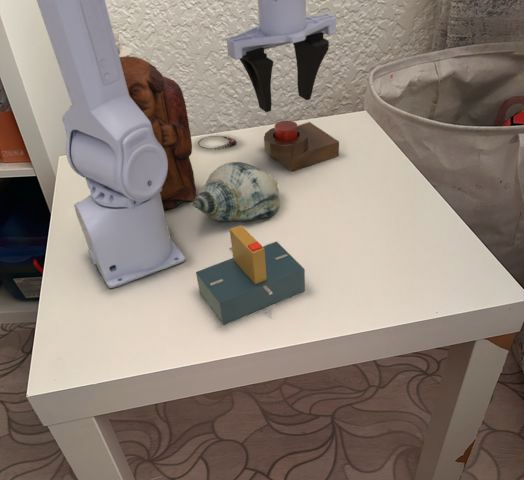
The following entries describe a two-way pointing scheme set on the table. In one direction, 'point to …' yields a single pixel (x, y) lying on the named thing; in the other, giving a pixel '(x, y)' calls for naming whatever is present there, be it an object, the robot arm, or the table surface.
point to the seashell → (238, 193)
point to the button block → (302, 147)
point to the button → (286, 131)
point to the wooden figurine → (164, 125)
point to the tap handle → (248, 254)
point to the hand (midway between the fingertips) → (285, 103)
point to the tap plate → (250, 284)
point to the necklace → (231, 142)
